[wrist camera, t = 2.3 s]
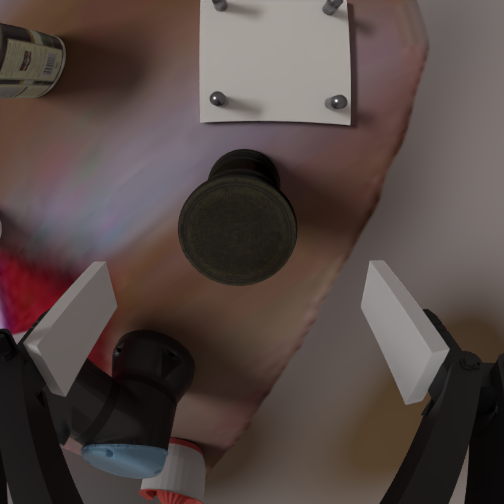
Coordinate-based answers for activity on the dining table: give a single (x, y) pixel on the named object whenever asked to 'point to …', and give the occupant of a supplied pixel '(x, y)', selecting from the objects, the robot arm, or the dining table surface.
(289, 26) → the locating plate
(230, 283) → the container
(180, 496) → the citrus juicer
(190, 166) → the dining table surface
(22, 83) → the coffee can
